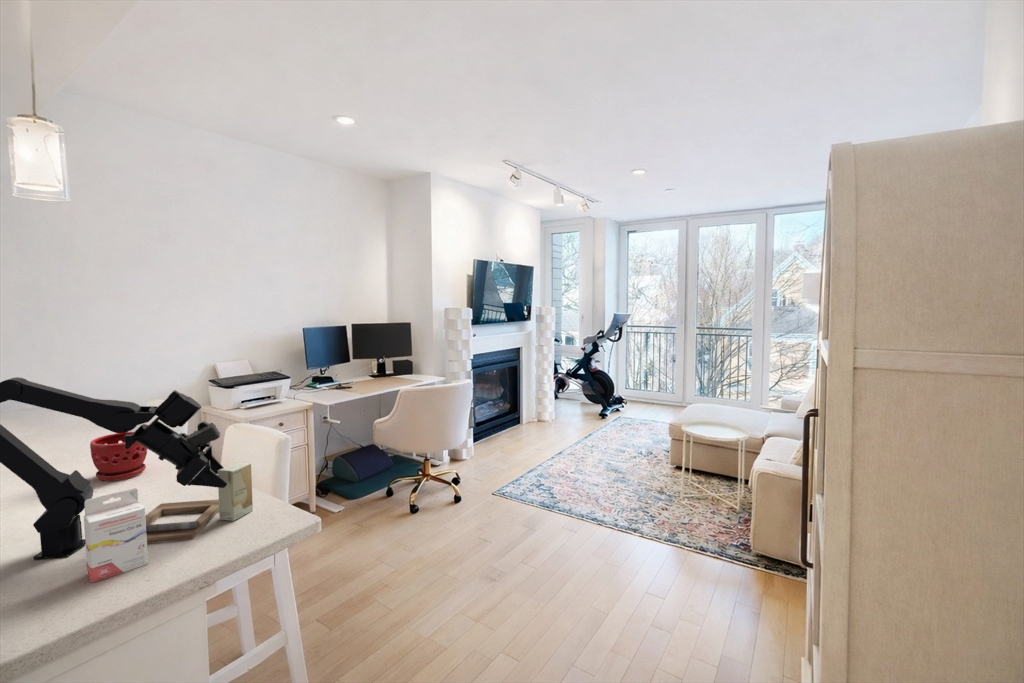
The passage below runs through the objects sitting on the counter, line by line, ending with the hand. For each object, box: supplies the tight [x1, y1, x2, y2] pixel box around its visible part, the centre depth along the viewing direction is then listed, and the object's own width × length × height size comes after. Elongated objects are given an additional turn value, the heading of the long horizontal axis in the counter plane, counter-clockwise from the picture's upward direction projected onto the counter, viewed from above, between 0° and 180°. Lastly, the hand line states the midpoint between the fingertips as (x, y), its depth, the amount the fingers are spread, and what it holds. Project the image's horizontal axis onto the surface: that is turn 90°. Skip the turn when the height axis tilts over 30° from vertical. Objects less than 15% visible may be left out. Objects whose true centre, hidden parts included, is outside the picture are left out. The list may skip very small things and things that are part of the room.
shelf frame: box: [145, 498, 219, 544], centre depth 108 cm, size 18×15×3 cm
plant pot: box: [89, 431, 148, 482], centre depth 138 cm, size 13×13×12 cm
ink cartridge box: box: [83, 488, 149, 583], centre depth 89 cm, size 9×5×15 cm, turn 141°
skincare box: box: [217, 462, 254, 522], centre depth 112 cm, size 6×4×12 cm
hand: (225, 479), depth 111 cm, fingers open, 9 cm apart
